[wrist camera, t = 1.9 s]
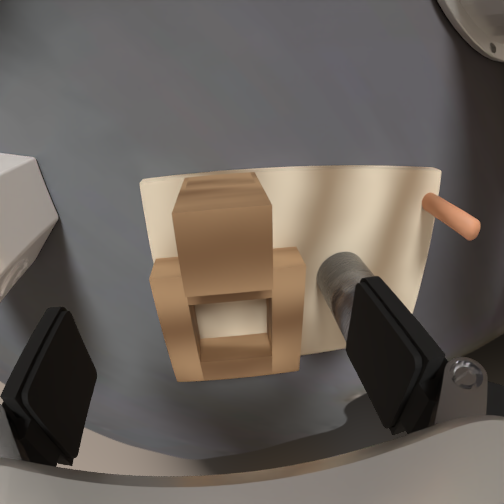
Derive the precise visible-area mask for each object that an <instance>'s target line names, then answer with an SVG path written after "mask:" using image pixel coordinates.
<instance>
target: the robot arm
mask: <svg viewBox="0 0 504 504" xmlns="http://www.w3.org/2000/svg"><path fill="white" fill-rule="evenodd" d="M437 1H438V3H439V5H440V7H441V8H442V10H443V12H444V14H445V15H446V17H447V18H448V19H449V21H450V22H451V24H452V25H453V27H454V28H455V29H456V30H457V32H458V33H459V34H460V35H461V36H462V38H463V39H464V40H465V41H466V42H467V43H468V44H469V45H470V46H471V47H473V48H474V49H475V50H476V51H478V52H479V53H480V54H482V55H483V56H485V57H487V58H489V59H491V60H494V61H499V62H504V0H437ZM346 352H347V355H348V357H349V359H350V361H351V362H352V364H353V366H354V368H355V370H356V372H357V374H358V376H359V378H360V380H361V382H362V384H363V386H364V388H365V390H366V392H367V394H368V396H369V398H370V400H371V401H372V404H373V406H374V408H375V410H376V412H377V414H378V416H379V418H380V420H381V422H382V424H383V426H384V427H385V428H389V429H390V430H391V433H392V435H395V434H398V433H401V432H404V431H406V432H407V434H408V435H405V436H402V437H399V438H396V439H393V440H390V441H387V442H384V443H380V444H377V445H374V446H371V447H367V448H364V449H360V450H356V451H353V452H349V453H345V454H342V455H338V456H334V457H329V458H325V459H321V460H316V461H312V462H307V463H302V464H297V465H291V466H285V467H279V468H273V469H266V470H259V471H251V472H242V473H232V474H222V475H207V476H176V477H175V476H173V477H172V476H170V477H167V476H163V477H162V476H161V477H160V476H158V477H157V476H132V475H116V474H105V473H96V472H87V471H80V470H73V469H66V468H60V467H56V465H57V463H58V464H63V465H70V466H72V464H73V459H74V458H76V457H77V455H78V452H79V447H80V443H81V438H82V434H83V429H84V425H85V421H86V417H87V413H88V409H89V405H90V401H91V397H92V394H93V390H94V386H95V383H96V379H97V372H96V369H95V366H94V364H93V362H92V360H91V358H90V356H89V354H88V352H87V349H86V347H85V345H84V343H83V340H82V338H81V336H80V333H79V331H78V329H77V326H76V324H75V322H74V319H73V317H72V314H71V313H70V312H69V311H67V310H66V309H65V308H64V307H53V308H48V309H47V310H46V312H45V314H44V315H43V317H42V319H41V320H40V322H39V324H38V325H37V327H36V329H35V330H34V332H33V334H32V336H31V337H30V339H29V341H28V343H27V345H26V346H25V348H24V350H23V352H22V354H21V356H20V358H19V359H18V361H17V363H16V365H15V367H14V369H13V371H12V373H11V375H10V377H9V379H8V381H7V383H6V385H5V388H4V390H3V392H2V394H1V396H0V397H1V398H2V399H3V401H4V402H3V403H2V405H1V404H0V504H504V386H502V385H499V384H495V383H492V382H489V381H488V379H487V373H486V371H485V369H484V368H483V367H482V366H481V365H480V363H478V362H476V361H475V360H473V359H470V358H467V357H457V358H454V359H452V360H450V361H449V362H448V361H447V359H446V358H445V354H444V353H443V351H442V350H441V349H440V347H439V346H438V345H437V344H436V342H435V341H434V340H433V339H432V337H431V336H430V335H429V334H428V333H427V331H426V330H425V329H424V328H423V326H422V325H421V324H420V323H419V322H418V320H417V319H416V318H415V317H414V316H413V314H412V313H411V312H410V311H409V310H408V309H407V307H406V306H405V305H404V304H403V303H402V302H401V300H400V299H399V298H398V297H397V296H396V295H395V293H394V292H393V291H392V290H391V289H390V288H389V287H388V285H387V284H386V283H385V282H384V281H383V280H382V279H381V278H380V277H379V276H373V277H366V278H362V279H361V280H360V283H357V284H356V286H355V292H354V299H353V306H352V312H351V318H350V324H349V330H348V335H347V341H346Z"/></svg>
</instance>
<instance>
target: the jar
mask: <svg viewBox="0 0 504 504" xmlns="http://www.w3.org/2000/svg"><path fill="white" fill-rule="evenodd" d="M57 221H58V214H57V212H56V210H55V207H54V205H53V203H52V200H51V198H50V195H49V193H48V190H47V188H46V185H45V183H44V180H43V177H42V175H41V172H40V169H39V167H38V164H37V161H36V159H35V158H34V157H28V156H21V155H13V154H5V153H0V302H1V301H2V300H3V298H4V297H5V296H6V294H7V293H8V292H9V291H10V289H11V288H12V287H13V286H14V285H15V283H16V282H17V281H18V280H19V278H20V277H21V276H22V275H23V274H24V273H25V271H26V270H27V269H28V268H29V267H30V266H31V264H32V263H33V262H34V261H35V259H36V257H37V255H38V254H39V252H40V250H41V248H42V246H43V245H44V243H45V241H46V239H47V237H48V236H49V234H50V232H51V231H52V229H53V227H54V226H55V224H56V222H57Z"/></svg>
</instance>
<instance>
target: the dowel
mask: <svg viewBox="0 0 504 504" xmlns="http://www.w3.org/2000/svg"><path fill="white" fill-rule="evenodd" d="M422 207H423V209H424V210H425V211H427V212H428V213H430V214H431V215H433V216H434V217H436V218H437V219H439V220H440V221H442V222H443V223H445V224H446V225H448V226H449V227H450V228H452V229H453V230H455V231H456V232H457V233H459V234H460V235H462V236H463V237H464V238H466V239H467V240H473V239H475V238H476V237H477V235H478V234H479V231H480V222H479V220H477V219H476V218H474V217H473V216H471V215H469V214H468V213H466V212H465V211H463V210H461V209H460V208H458V207H456V206H455V205H453V204H451V203H449V202H448V201H446V200H444V199H443V198H441V197H439V196H437V195H436V194H434V193H427V194H426V195H425V196H424V197H423V200H422Z"/></svg>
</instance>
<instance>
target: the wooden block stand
mask: <svg viewBox="0 0 504 504" xmlns="http://www.w3.org/2000/svg"><path fill="white" fill-rule="evenodd" d="M172 220H173V227H174V234H175V240H176V247H177V253H178V257H169V258H158V259H155V263H154V266H153V269H152V272H151V275H150V279H149V281H150V285H151V289H152V293H153V297H154V301H155V305H156V309H157V313H158V317H159V321H160V324H161V328H162V332H163V335H164V339H165V342H166V346H167V349H168V353H169V356H170V360H171V363H172V366H173V369H174V373H175V376H176V379H177V382H189V381H206V380H220V379H232V378H243V377H252V376H261V375H270V374H278V373H285V372H293V371H299V364H300V352H301V339H302V326H303V311H304V296H305V278H306V264H305V262H304V261H303V259H302V257H301V255H300V253H299V251H298V249H297V247H284V248H273V222H272V204H271V202H270V200H269V198H268V196H267V194H266V192H265V191H264V189H263V187H262V185H261V183H260V181H259V179H258V178H257V176H256V174H255V172H245V173H231V174H219V175H207V176H196V177H186V178H184V181H183V183H182V186H181V189H180V192H179V194H178V197H177V200H176V203H175V205H174V208H173V211H172ZM265 298H266V304H267V333H259V334H249V335H239V336H228V337H216V338H203V339H200V334H199V328H198V323H197V317H196V312H195V306H194V305H198V304H211V303H223V302H234V301H245V300H255V299H265Z"/></svg>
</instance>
